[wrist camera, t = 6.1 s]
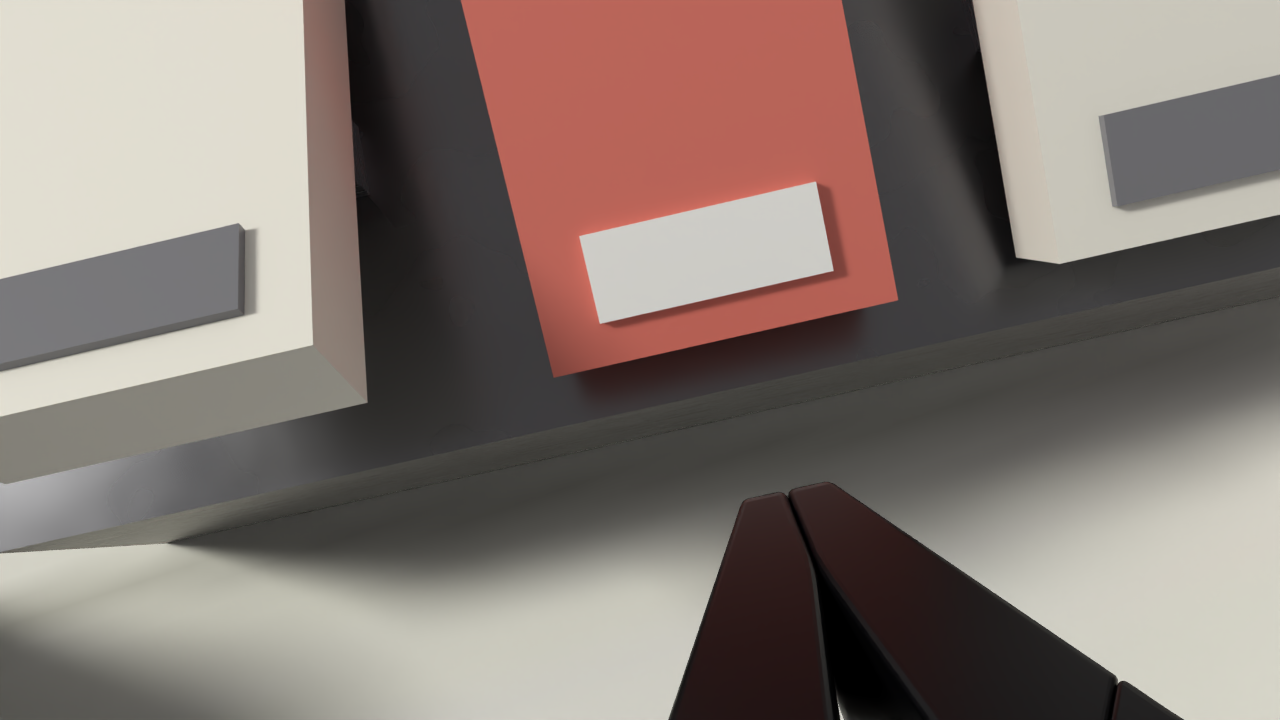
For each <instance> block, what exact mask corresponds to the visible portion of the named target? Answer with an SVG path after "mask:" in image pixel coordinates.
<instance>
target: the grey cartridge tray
mask: <svg viewBox="0 0 1280 720" xmlns="http://www.w3.org/2000/svg"><path fill="white" fill-rule="evenodd" d="M842 5H843V10H844V15H845V20H846V26H847V31H848V36H849V42H850V47H851V52H852V58H853V63H854V68H855V73H856V79H857V84H858V89H859V95H860V100H861V105H862V111H863V116H864V121H865V126H866V132H867V137H868V142H869V148H870V153H871V158H872V164H873V169H874V174H875V179H876V185H877V190H878V195H879V201H880V206H881V211H882V217H883V222H884V227H885V232H886V238H887V243H888V248H889V254H890V259H891V264H892V269H893V275H894V280H895V285H896V291H897V296H898V300H897V301H893V302H888V303H884V304H879V305H875V306H870V307H866V308H861V309H857V310H853V311H848V312H844V313H839V314H835V315H830V316H826V317H821V318H817V319H813V320H808V321H804V322H799V323H795V324H790V325H786V326H781V327H777V328H773V329H768V330H764V331H759V332H755V333H750V334H746V335H741V336H737V337H733V338H728V339H724V340H719V341H715V342H710V343H706V344H701V345H697V346H693V347H688V348H684V349H679V350H675V351H670V352H666V353H661V354H657V355H653V356H648V357H644V358H639V359H635V360H630V361H626V362H621V363H617V364H613V365H608V366H604V367H599V368H595V369H590V370H586V371H581V372H577V373H573V374H568V375H564V376H559V377H555V378H554V377H553V373H552V369H551V365H550V361H549V357H548V353H547V349H546V344H545V340H544V336H543V332H542V328H541V324H540V320H539V316H538V312H537V308H536V304H535V300H534V296H533V292H532V288H531V283H530V279H529V275H528V271H527V267H526V263H525V259H524V255H523V251H522V247H521V243H520V239H519V235H518V231H517V227H516V223H515V218H514V214H513V210H512V206H511V202H510V198H509V194H508V190H507V186H506V182H505V178H504V174H503V170H502V166H501V162H500V157H499V153H498V149H497V145H496V141H495V137H494V133H493V129H492V125H491V121H490V117H489V113H488V109H487V105H486V101H485V97H484V92H483V88H482V84H481V80H480V76H479V72H478V68H477V64H476V60H475V56H474V52H473V48H472V44H471V40H470V36H469V32H468V27H467V23H466V19H465V15H464V11H463V7H462V3H461V0H345V15H346V32H347V50H348V68H349V85H350V103H351V120H352V138H353V156H354V173H355V191H356V208H357V226H358V244H359V261H360V279H361V296H362V314H363V332H364V349H365V367H366V384H367V402H368V403H364V404H360V405H355V406H351V407H346V408H342V409H337V410H333V411H329V412H324V413H320V414H315V415H311V416H306V417H302V418H298V419H293V420H289V421H284V422H280V423H275V424H271V425H267V426H262V427H258V428H253V429H249V430H244V431H240V432H236V433H231V434H227V435H222V436H218V437H213V438H209V439H205V440H200V441H196V442H191V443H187V444H182V445H178V446H174V447H169V448H165V449H160V450H156V451H151V452H147V453H142V454H138V455H134V456H129V457H125V458H120V459H116V460H111V461H107V462H103V463H98V464H94V465H89V466H85V467H80V468H76V469H72V470H67V471H63V472H58V473H54V474H49V475H45V476H41V477H36V478H32V479H27V480H23V481H18V482H14V483H10V484H3V483H1V482H0V553H14V552H31V551H47V550H64V549H80V548H97V547H114V546H130V545H147V544H163V543H169V542H173V541H178V540H182V539H187V538H191V537H196V536H200V535H205V534H209V533H214V532H218V531H223V530H227V529H232V528H236V527H241V526H245V525H250V524H254V523H259V522H263V521H268V520H272V519H277V518H281V517H286V516H290V515H295V514H299V513H304V512H308V511H313V510H317V509H322V508H327V507H331V506H336V505H340V504H345V503H349V502H354V501H358V500H363V499H367V498H372V497H376V496H381V495H385V494H390V493H394V492H399V491H403V490H408V489H412V488H417V487H421V486H426V485H430V484H435V483H439V482H444V481H448V480H453V479H457V478H462V477H466V476H471V475H475V474H480V473H485V472H489V471H494V470H498V469H503V468H507V467H512V466H516V465H521V464H525V463H530V462H534V461H539V460H543V459H548V458H552V457H557V456H561V455H566V454H570V453H575V452H579V451H584V450H588V449H593V448H597V447H602V446H606V445H611V444H615V443H620V442H624V441H629V440H633V439H638V438H643V437H647V436H652V435H656V434H661V433H665V432H670V431H674V430H679V429H683V428H688V427H692V426H697V425H701V424H706V423H710V422H715V421H719V420H724V419H728V418H733V417H737V416H742V415H746V414H751V413H755V412H760V411H764V410H769V409H773V408H778V407H782V406H787V405H791V404H796V403H801V402H805V401H810V400H814V399H819V398H823V397H828V396H832V395H837V394H841V393H846V392H850V391H855V390H859V389H864V388H868V387H873V386H877V385H882V384H886V383H891V382H895V381H900V380H904V379H909V378H913V377H918V376H922V375H927V374H931V373H936V372H940V371H945V370H949V369H954V368H959V367H963V366H968V365H972V364H977V363H981V362H986V361H990V360H995V359H999V358H1004V357H1008V356H1013V355H1017V354H1022V353H1026V352H1031V351H1035V350H1040V349H1044V348H1049V347H1053V346H1058V345H1062V344H1067V343H1071V342H1076V341H1080V340H1085V339H1089V338H1094V337H1098V336H1103V335H1107V334H1112V333H1117V332H1121V331H1126V330H1130V329H1135V328H1139V327H1144V326H1148V325H1153V324H1157V323H1162V322H1166V321H1171V320H1175V319H1180V318H1184V317H1189V316H1193V315H1198V314H1202V313H1207V312H1211V311H1216V310H1220V309H1225V308H1229V307H1234V306H1238V305H1243V304H1247V303H1252V302H1256V301H1261V300H1265V299H1270V298H1275V297H1279V296H1280V215H1275V216H1271V217H1266V218H1262V219H1257V220H1253V221H1249V222H1244V223H1240V224H1235V225H1231V226H1226V227H1222V228H1217V229H1213V230H1209V231H1204V232H1200V233H1195V234H1191V235H1186V236H1182V237H1177V238H1173V239H1169V240H1164V241H1160V242H1155V243H1151V244H1146V245H1142V246H1137V247H1133V248H1129V249H1124V250H1120V251H1115V252H1111V253H1106V254H1102V255H1097V256H1093V257H1089V258H1084V259H1080V260H1075V261H1071V262H1066V263H1062V264H1057V263H1050V262H1043V261H1036V260H1030V259H1023V258H1016V254H1015V248H1014V242H1013V236H1012V231H1011V225H1010V219H1009V213H1008V207H1007V201H1006V195H1005V189H1004V183H1003V178H1002V172H1001V166H1000V160H999V154H998V148H997V142H996V136H995V130H994V124H993V119H992V113H991V107H990V101H989V95H988V89H987V83H986V77H985V71H984V65H983V60H982V54H981V48H980V42H979V36H978V30H977V24H976V18H975V12H974V6H973V1H972V0H842Z"/></svg>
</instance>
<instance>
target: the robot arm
mask: <svg viewBox="0 0 1280 720" xmlns="http://www.w3.org/2000/svg"><path fill="white" fill-rule="evenodd" d="M838 704H839V707H840V710H841V713H842V716H843V718H844V720H1184V719H1182V718H1180V717H1179V716H1177V715H1176V714H1174V713H1173V712H1171V711H1170V710H1168V709H1166V708H1165V707H1164V706H1162V705H1161V704H1159V703H1158V702H1156V701H1155V700H1153V699H1152V698H1150V697H1149V696H1147V695H1146V694H1144V693H1143V692H1141V691H1140V690H1138V689H1137V688H1136V687H1134V686H1133V685H1131V684H1130V683H1128V682H1126V681H1121V682H1119V683H1118V679H1117V677H1116V676H1115V675H1114V674H1112V673H1111V672H1109V671H1108V670H1106V669H1105V668H1104V667H1102V666H1101V665H1099V664H1098V663H1096V662H1095V661H1093V660H1092V659H1090V658H1089V657H1087V656H1086V655H1084V654H1083V653H1082V652H1080V651H1079V650H1077V649H1076V648H1074V647H1073V646H1071V645H1070V644H1068V643H1067V642H1065V641H1064V640H1062V639H1061V638H1059V637H1058V636H1057V635H1055V634H1054V633H1052V632H1051V631H1049V630H1048V629H1046V628H1045V627H1043V626H1042V625H1040V624H1039V623H1037V622H1036V621H1035V620H1033V619H1032V618H1030V617H1029V616H1027V615H1026V614H1024V613H1023V612H1021V611H1020V610H1018V609H1017V608H1015V607H1014V606H1012V605H1011V604H1010V603H1008V602H1007V601H1005V600H1004V599H1002V598H1001V597H999V596H998V595H996V594H995V593H993V592H992V591H990V590H989V589H988V588H986V587H985V586H983V585H982V584H980V583H979V582H977V581H976V580H974V579H973V578H971V577H970V576H968V575H967V574H965V573H964V572H963V571H961V570H960V569H958V568H957V567H955V566H954V565H952V564H951V563H949V562H948V561H946V560H945V559H943V558H942V557H941V556H939V555H938V554H936V553H935V552H933V551H932V550H930V549H929V548H927V547H926V546H924V545H923V544H921V543H920V542H918V541H917V540H916V539H914V538H913V537H911V536H910V535H908V534H907V533H905V532H904V531H902V530H901V529H899V528H898V527H896V526H895V525H894V524H892V523H891V522H889V521H888V520H886V519H885V518H883V517H882V516H880V515H879V514H877V513H876V512H874V511H873V510H871V509H870V508H869V507H867V506H866V505H864V504H863V503H861V502H860V501H858V500H857V499H855V498H854V497H852V496H851V495H849V494H848V493H847V492H845V491H844V490H842V489H841V488H839V487H838V486H836V485H835V484H833V483H830V482H822V483H818V484H813V485H809V486H804V487H799V488H795V489H792V490H791V491H790V492H789V495H788V497H787V496H786V495H785V494H784V493H781V492H776V493H772V494H767V495H763V496H758V497H754V498H749V499H746V500H744V501H743V503H742V505H741V506H740V509H739V512H738V515H737V518H736V521H735V524H734V527H733V530H732V533H731V536H730V539H729V541H728V544H727V547H726V550H725V553H724V556H723V559H722V562H721V565H720V568H719V571H718V574H717V577H716V580H715V583H714V586H713V589H712V592H711V595H710V598H709V601H708V604H707V607H706V610H705V613H704V616H703V619H702V622H701V624H700V627H699V630H698V633H697V636H696V639H695V642H694V645H693V648H692V651H691V654H690V657H689V660H688V663H687V666H686V669H685V672H684V675H683V678H682V681H681V684H680V687H679V690H678V693H677V696H676V699H675V702H674V704H673V707H672V710H671V713H670V716H669V719H668V720H840V715H839V708H838Z"/></svg>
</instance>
